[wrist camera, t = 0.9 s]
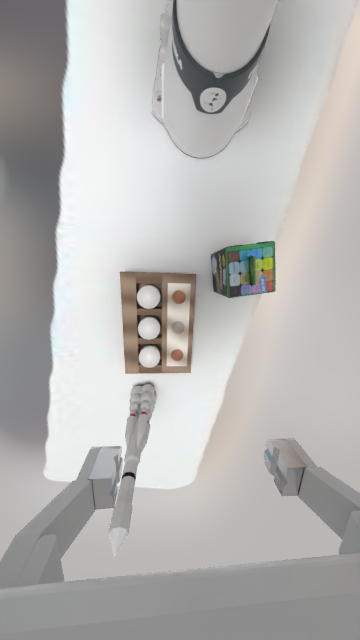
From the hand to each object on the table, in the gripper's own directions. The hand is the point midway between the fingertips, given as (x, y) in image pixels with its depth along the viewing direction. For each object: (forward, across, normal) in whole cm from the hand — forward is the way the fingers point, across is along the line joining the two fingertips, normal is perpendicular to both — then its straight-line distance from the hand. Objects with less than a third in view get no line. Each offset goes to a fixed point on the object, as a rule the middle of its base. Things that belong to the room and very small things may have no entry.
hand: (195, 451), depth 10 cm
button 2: (+33, +6, -5) cm, 34 cm away
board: (+36, +4, +2) cm, 36 cm away
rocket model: (+37, +8, +22) cm, 43 cm away
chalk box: (+36, -14, -11) cm, 40 cm away
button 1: (+33, +6, +9) cm, 35 cm away
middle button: (+33, +6, +2) cm, 34 cm away
